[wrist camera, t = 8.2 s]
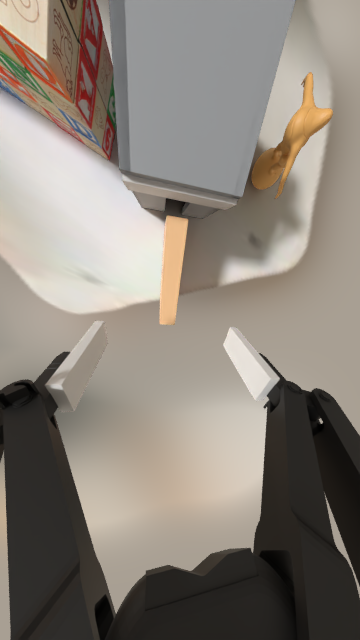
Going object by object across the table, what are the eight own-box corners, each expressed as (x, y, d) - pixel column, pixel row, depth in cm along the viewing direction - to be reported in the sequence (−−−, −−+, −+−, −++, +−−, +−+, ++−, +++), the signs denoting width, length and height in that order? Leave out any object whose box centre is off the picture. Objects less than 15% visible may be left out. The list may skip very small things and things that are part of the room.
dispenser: (140, 74, 15) (84, -383, 4) (222, 102, 17) (340, -167, 6) (141, 210, 22) (119, 176, 10) (201, 221, 23) (240, 202, 12)
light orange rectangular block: (164, 223, 22) (166, 215, 15) (179, 226, 23) (188, 219, 15) (160, 302, 29) (159, 324, 22) (171, 303, 30) (174, 324, 22)
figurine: (263, 209, 23) (343, 184, 13) (229, 210, 23) (285, 185, 13) (279, 134, 19) (416, 11, 9) (238, 134, 19) (333, 2, 8)
